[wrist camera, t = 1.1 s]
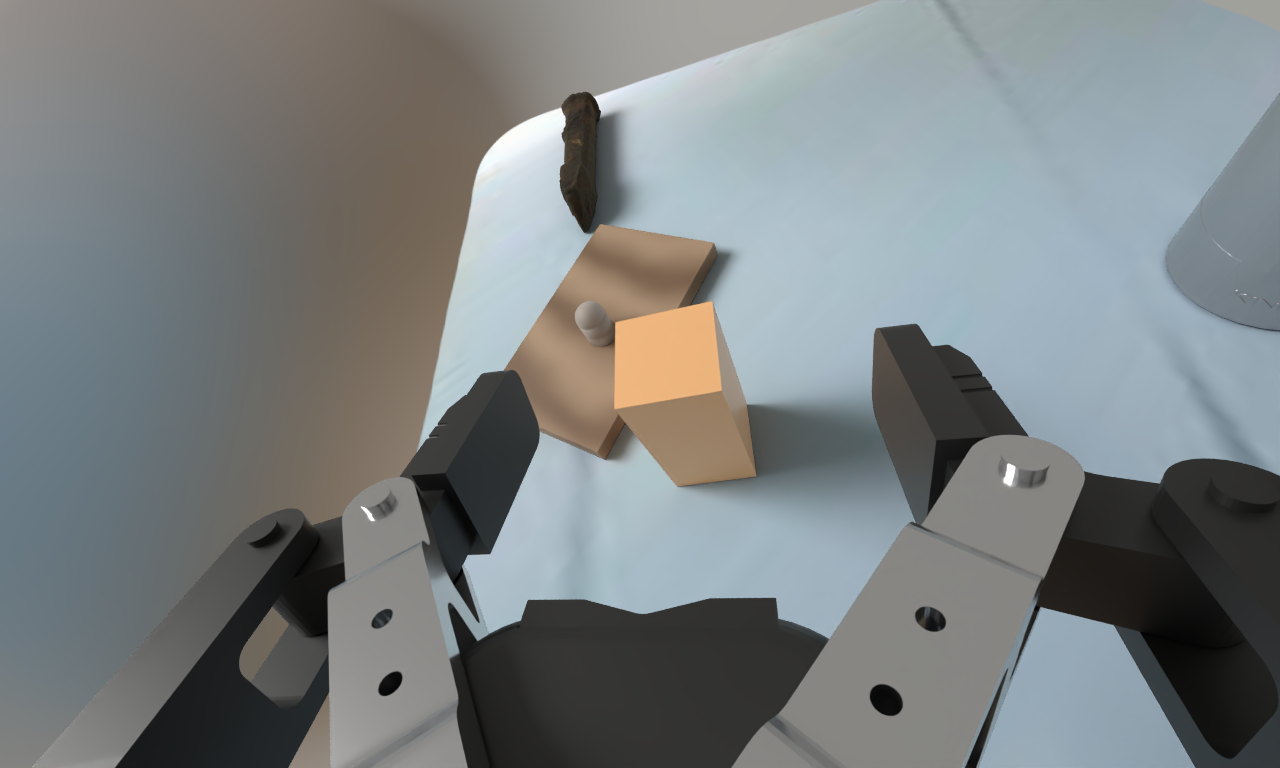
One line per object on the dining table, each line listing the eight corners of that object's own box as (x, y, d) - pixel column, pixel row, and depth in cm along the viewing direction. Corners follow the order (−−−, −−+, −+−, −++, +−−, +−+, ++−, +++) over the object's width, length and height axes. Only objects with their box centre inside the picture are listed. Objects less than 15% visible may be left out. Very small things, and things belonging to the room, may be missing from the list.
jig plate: (606, 235, 51) (584, 193, 46) (717, 255, 45) (704, 209, 41) (492, 410, 44) (455, 380, 40) (605, 459, 39) (575, 431, 34)
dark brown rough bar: (573, 127, 62) (555, 91, 58) (604, 117, 61) (588, 79, 57) (562, 243, 53) (540, 209, 49) (599, 233, 52) (579, 197, 48)
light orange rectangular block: (673, 416, 39) (615, 322, 29) (746, 404, 37) (712, 301, 27) (677, 486, 36) (614, 409, 26) (756, 476, 34) (722, 390, 25)
